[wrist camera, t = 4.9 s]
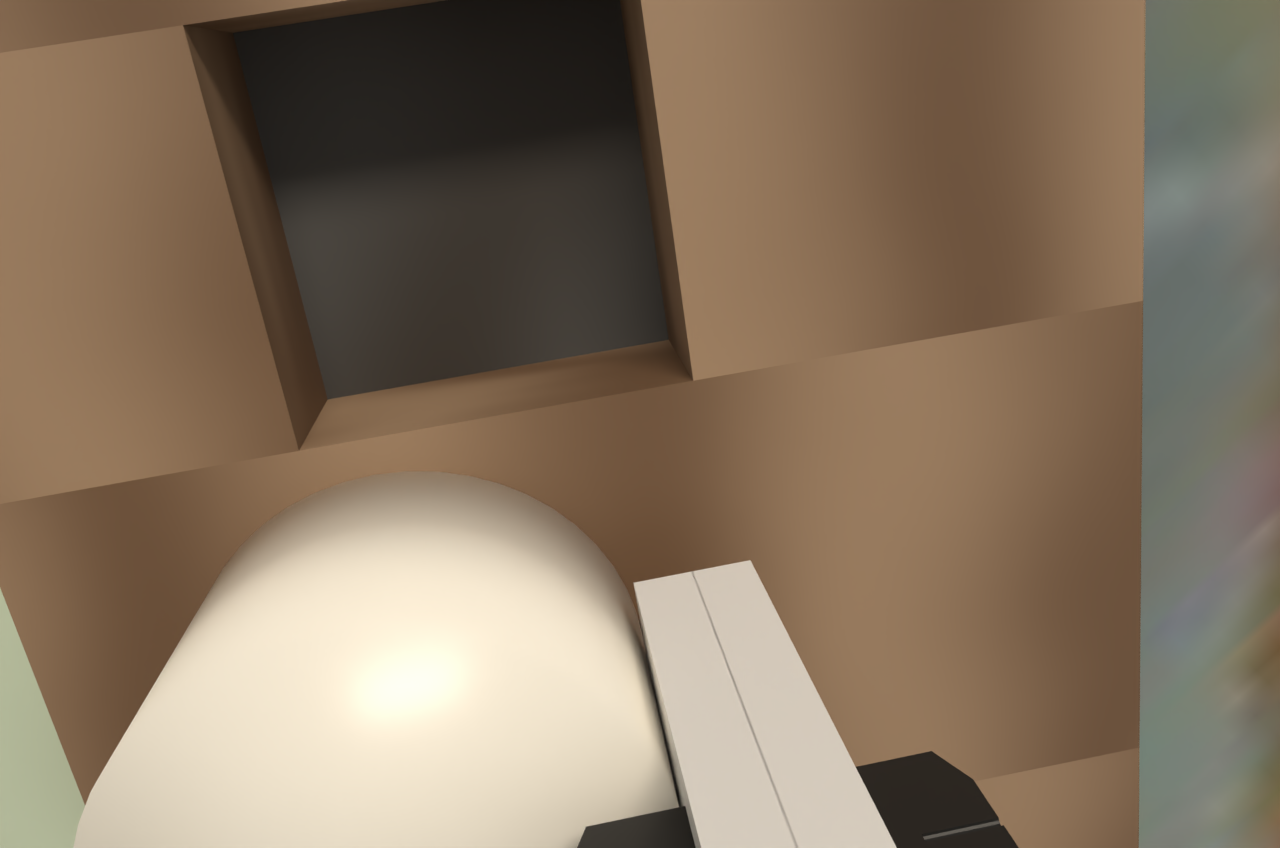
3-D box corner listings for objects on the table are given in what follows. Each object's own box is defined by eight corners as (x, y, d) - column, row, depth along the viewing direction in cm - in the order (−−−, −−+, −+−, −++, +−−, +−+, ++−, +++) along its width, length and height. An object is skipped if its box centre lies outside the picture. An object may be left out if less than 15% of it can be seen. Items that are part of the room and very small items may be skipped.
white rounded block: (259, 896, 15) (172, 1170, 11) (133, 517, 13) (-22, 696, 9) (672, 815, 15) (721, 1057, 12) (609, 434, 13) (644, 575, 10)
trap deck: (-210, 1225, 19) (-478, 1655, 14) (-898, 69, 13) (-1889, 63, 7) (1065, 949, 21) (1252, 1243, 15) (1040, -213, 14) (1351, -380, 9)
